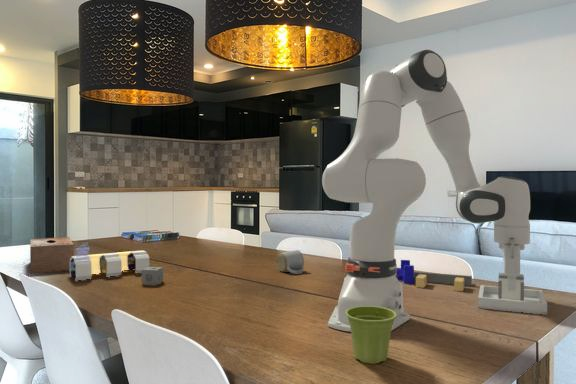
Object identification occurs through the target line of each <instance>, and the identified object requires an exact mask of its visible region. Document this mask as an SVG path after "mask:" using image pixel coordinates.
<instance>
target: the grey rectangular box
mask: <svg viewBox="0 0 576 384" xmlns="http://www.w3.org/2000/svg"><path fill="white" fill-rule="evenodd" d="M524 276H525V275H524V274H521V273H520V276H518V277H517V276H516V284H515V291H509V290H508V281H507V276H506V275H505V274H504V272H498V283H497V285H498V286H497V287H498V299H509V300H519V301H524V289H525V277H524Z"/></svg>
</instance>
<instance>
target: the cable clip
mask: <svg viewBox="0 0 576 384" xmlns="http://www.w3.org/2000/svg"><path fill="white" fill-rule="evenodd" d="M414 272H415V265H413V264H411V260H410V259H400V267H399V268H398V267H397V268H396V274H395V276H396V278H397V279H398V280H399V281H402V282H403V284H406V285H407V284H408V285H414V284H415V281H414Z"/></svg>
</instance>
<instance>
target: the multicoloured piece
mask: <svg viewBox="0 0 576 384" xmlns="http://www.w3.org/2000/svg"><path fill="white" fill-rule="evenodd" d="M89 251H90V246H89V243H88V242H82V245H81V247H78V248H77V247H76V248H75V252H76V255H74V256H72V257H71V258H70V270H69V276H70V278H75V280H74V281H75V282H79V281H78V280H81V281H87V280H86V279H90V280H92V276H93V275H92V274H96V275H100V274H99V273H105V278H106V277H108V278H111V277H110V276H116V277H119V276H118V275H121V276H122V271H123V272H125V271H124V270H132V271H134V274H135V273H142V269H145V268H148V267H151V266H150V263H151V262H150V255H149V254H148V252H147V251H146V250H132V251H122V252H120V251H119V252H110V253H109V252H108V253H107V252H106V253H96V254H89ZM133 269H136V270H133ZM74 276H76V277H74Z"/></svg>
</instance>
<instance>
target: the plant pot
mask: <svg viewBox="0 0 576 384" xmlns="http://www.w3.org/2000/svg"><path fill="white" fill-rule="evenodd" d="M346 316H347V317H348V320H349V323H350V327H351V332H350V333H351V339H352V340H351V341H352V349H353V356H354V358H355V359H356V360H359V361H360V362H361V363H364V364H372V365H375V364H376V363H377V364H380V362H386V361H387V360H388V355H389V347H390V340H391V334H392V331H391V329H392V325H393V323H394V319H395V318H396V313H395V312H394V311H392V310H390V309H387V308H383V307H376V306H359V307H353V308H350V309H348V310H347V311H346Z"/></svg>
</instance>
